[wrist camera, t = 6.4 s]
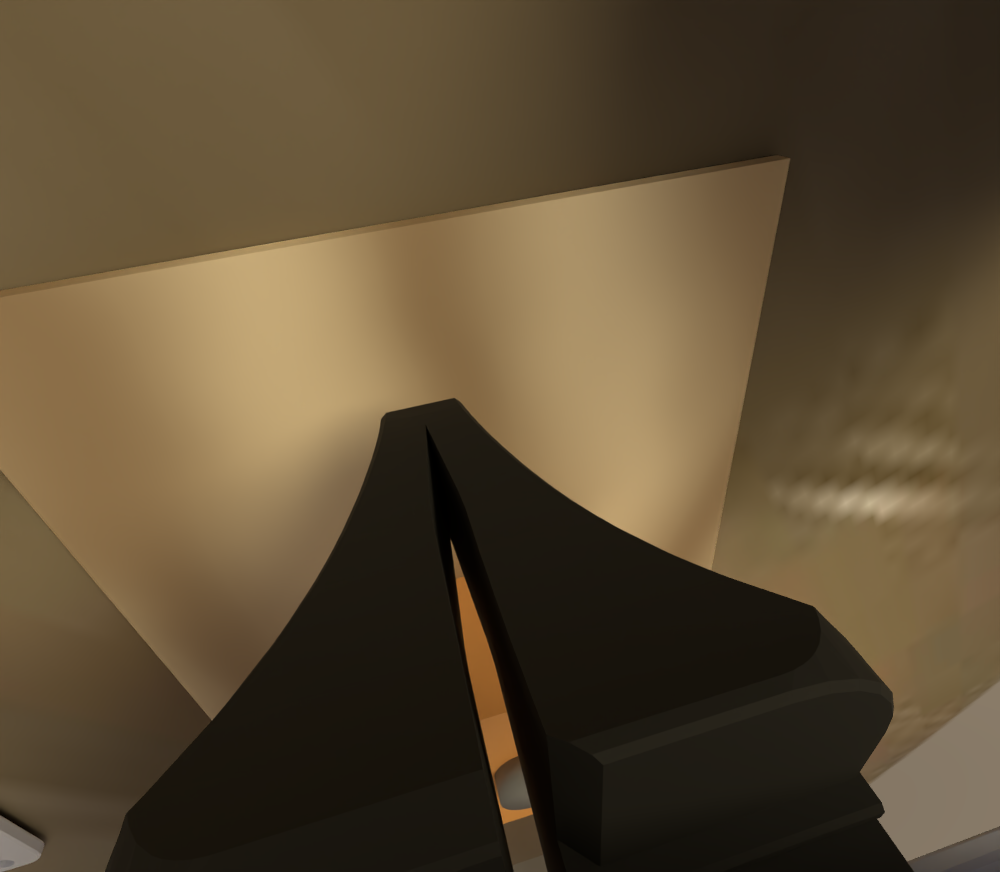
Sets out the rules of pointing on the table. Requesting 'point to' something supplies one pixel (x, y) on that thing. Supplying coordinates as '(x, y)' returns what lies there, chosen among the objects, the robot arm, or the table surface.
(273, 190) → the table surface
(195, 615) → the dock
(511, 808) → the lock
